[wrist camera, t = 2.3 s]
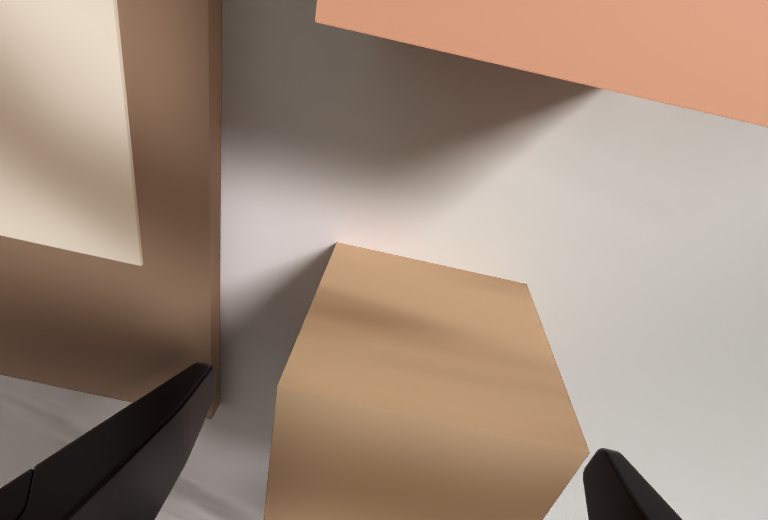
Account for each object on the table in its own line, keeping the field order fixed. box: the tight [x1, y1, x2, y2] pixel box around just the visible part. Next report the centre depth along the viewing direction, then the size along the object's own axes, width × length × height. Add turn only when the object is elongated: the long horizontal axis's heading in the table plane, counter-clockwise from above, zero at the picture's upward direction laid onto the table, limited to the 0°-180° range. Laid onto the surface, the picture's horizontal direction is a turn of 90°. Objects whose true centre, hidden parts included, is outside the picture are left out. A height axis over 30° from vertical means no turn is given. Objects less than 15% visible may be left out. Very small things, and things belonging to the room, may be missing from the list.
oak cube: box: [264, 242, 590, 520], centre depth 10 cm, size 5×5×5 cm
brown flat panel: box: [0, 0, 222, 419], centre depth 10 cm, size 17×10×1 cm, turn 169°
